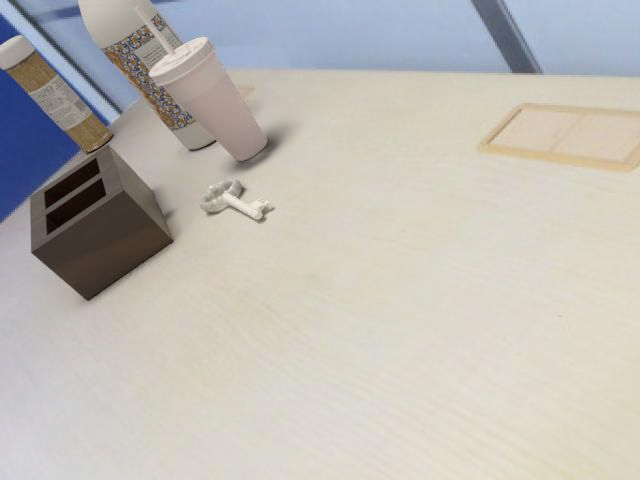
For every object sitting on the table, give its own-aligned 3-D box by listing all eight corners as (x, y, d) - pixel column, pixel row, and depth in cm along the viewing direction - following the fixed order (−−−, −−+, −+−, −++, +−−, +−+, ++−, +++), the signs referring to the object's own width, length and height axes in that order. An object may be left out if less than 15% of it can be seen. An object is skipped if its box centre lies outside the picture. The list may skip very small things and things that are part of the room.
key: (233, 181, 70) (197, 208, 69) (226, 172, 70) (190, 199, 69) (282, 204, 63) (242, 236, 62) (274, 195, 62) (234, 226, 61)
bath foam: (186, 139, 85) (25, -49, 71) (237, 107, 85) (88, -87, 71) (188, 159, 80) (16, -38, 66) (242, 125, 80) (83, -79, 66)
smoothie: (256, 131, 78) (148, -8, 67) (290, 129, 74) (183, -19, 64) (213, 170, 75) (95, 31, 65) (247, 169, 71) (128, 23, 61)
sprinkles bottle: (95, 139, 101) (2, 41, 91) (119, 129, 99) (27, 28, 90) (78, 158, 98) (-20, 59, 88) (103, 148, 97) (6, 46, 87)
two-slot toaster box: (77, 240, 77) (29, 196, 73) (152, 190, 78) (108, 143, 74) (87, 301, 66) (30, 252, 62) (173, 240, 67) (123, 189, 63)
